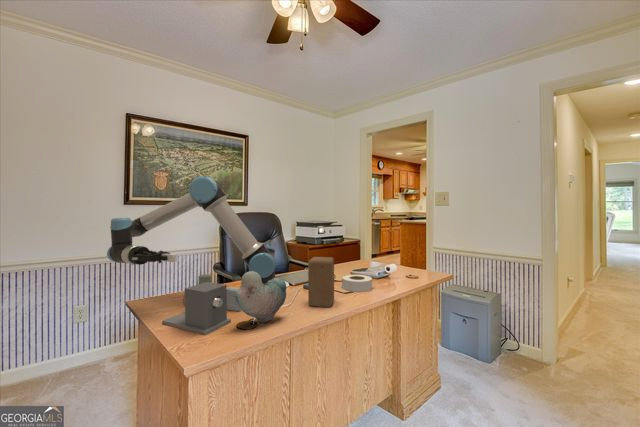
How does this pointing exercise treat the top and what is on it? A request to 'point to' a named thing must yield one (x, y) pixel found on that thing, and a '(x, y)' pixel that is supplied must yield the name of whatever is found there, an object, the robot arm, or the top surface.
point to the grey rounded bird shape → (260, 296)
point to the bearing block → (202, 309)
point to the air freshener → (205, 278)
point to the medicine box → (232, 299)
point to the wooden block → (321, 281)
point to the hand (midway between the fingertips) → (174, 258)
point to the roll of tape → (357, 283)
